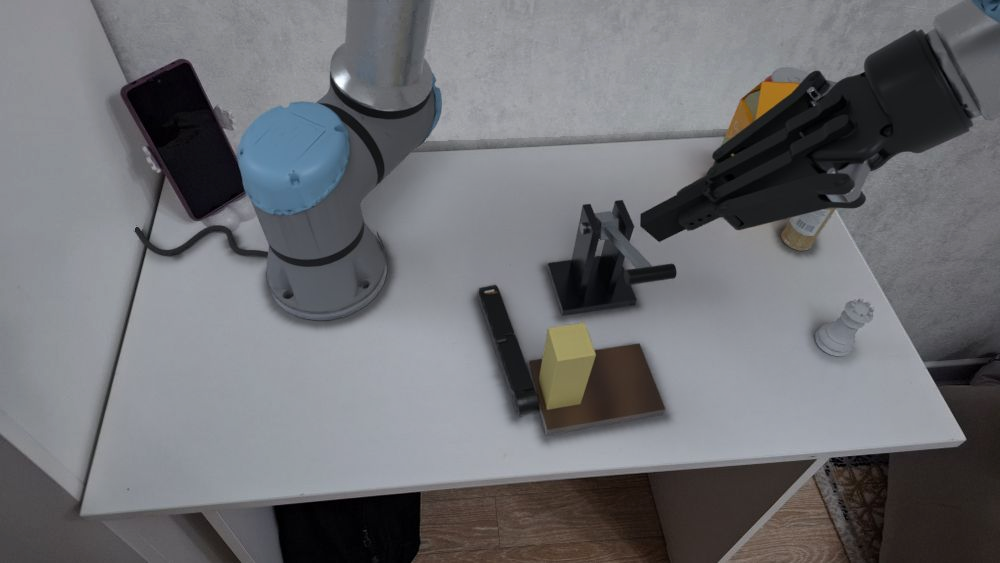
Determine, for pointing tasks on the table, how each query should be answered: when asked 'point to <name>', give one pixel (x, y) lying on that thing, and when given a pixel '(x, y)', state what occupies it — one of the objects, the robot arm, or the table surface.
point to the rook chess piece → (844, 328)
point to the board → (605, 392)
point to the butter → (566, 365)
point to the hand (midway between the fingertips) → (649, 228)
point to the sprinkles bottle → (805, 229)
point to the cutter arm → (632, 253)
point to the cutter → (593, 268)
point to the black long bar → (508, 351)
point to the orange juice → (757, 104)
